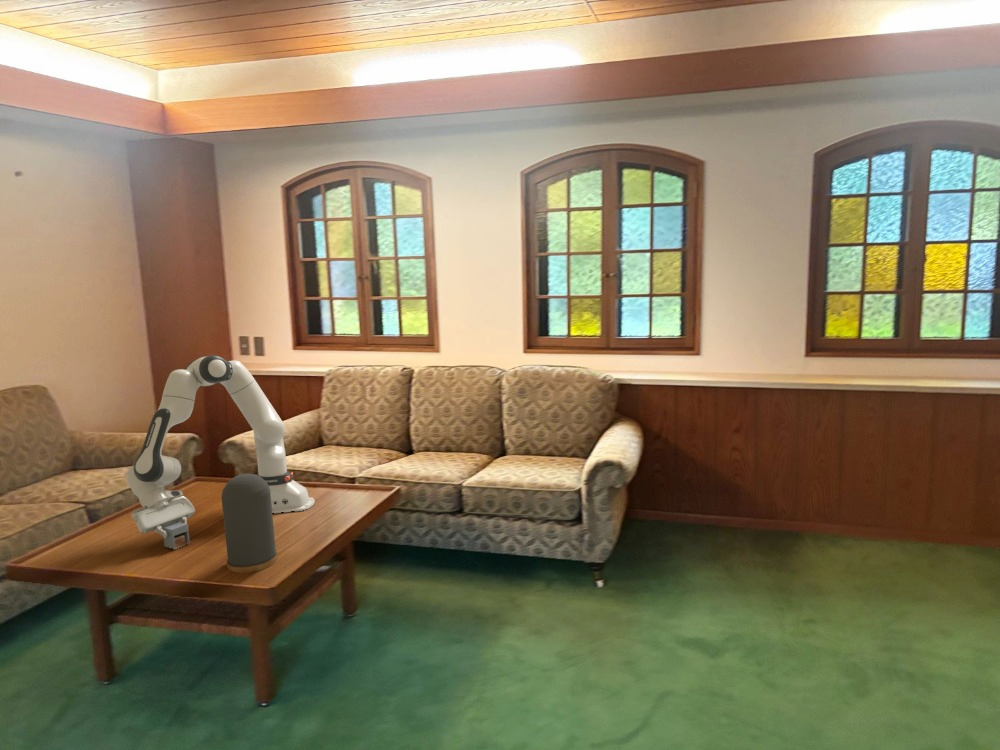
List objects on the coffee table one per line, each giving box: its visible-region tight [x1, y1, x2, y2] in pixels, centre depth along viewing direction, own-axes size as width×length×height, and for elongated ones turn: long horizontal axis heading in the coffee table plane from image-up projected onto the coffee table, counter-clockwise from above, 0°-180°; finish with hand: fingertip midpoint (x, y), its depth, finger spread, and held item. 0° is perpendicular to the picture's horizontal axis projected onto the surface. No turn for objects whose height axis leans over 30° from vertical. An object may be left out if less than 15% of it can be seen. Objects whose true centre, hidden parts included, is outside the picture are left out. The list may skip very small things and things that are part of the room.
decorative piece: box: [221, 473, 279, 574], centre depth 228 cm, size 16×16×30 cm
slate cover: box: [161, 521, 191, 550], centre depth 246 cm, size 6×6×7 cm
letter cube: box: [174, 534, 186, 550], centre depth 246 cm, size 4×4×4 cm
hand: (176, 533), depth 245 cm, fingers closed on slate cover, 6 cm apart
